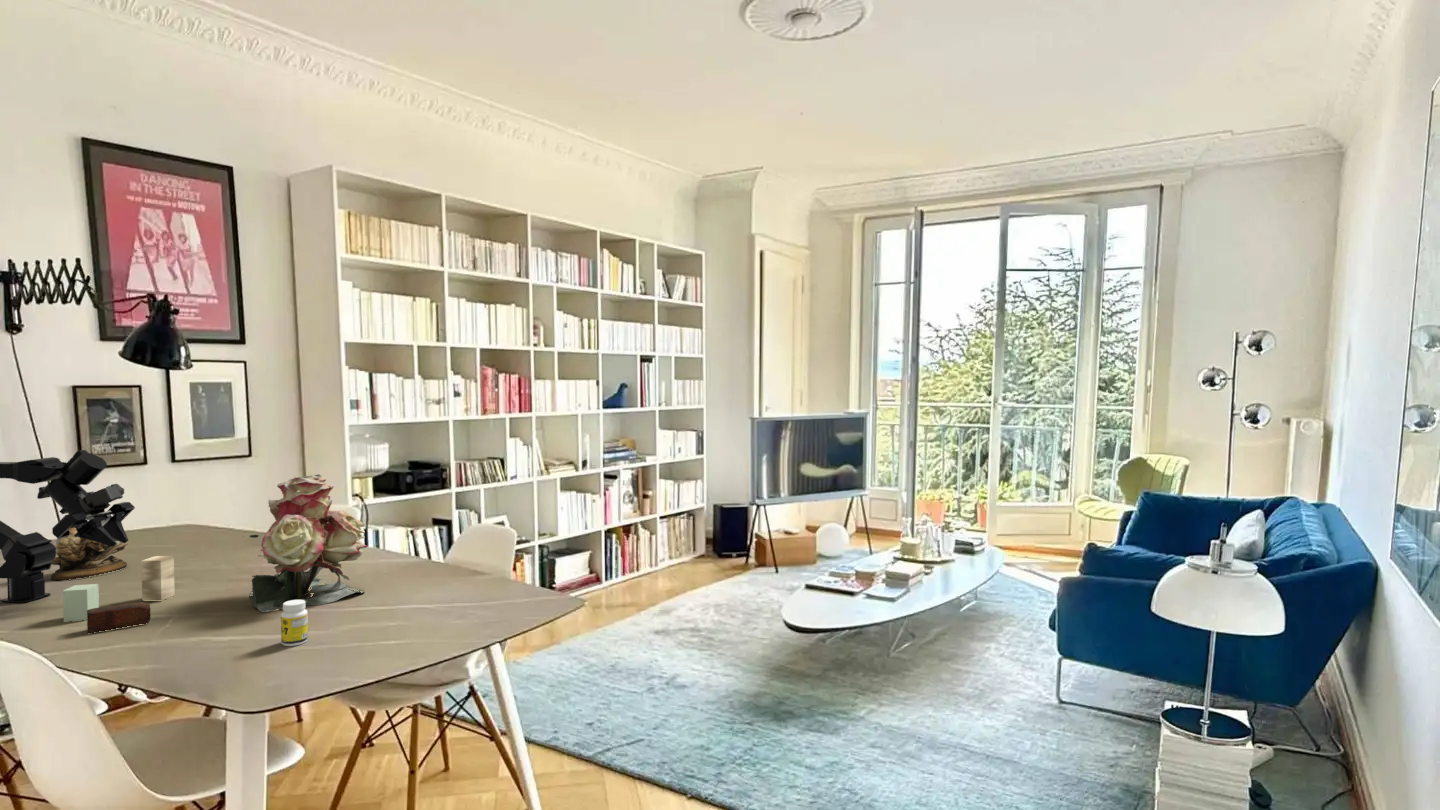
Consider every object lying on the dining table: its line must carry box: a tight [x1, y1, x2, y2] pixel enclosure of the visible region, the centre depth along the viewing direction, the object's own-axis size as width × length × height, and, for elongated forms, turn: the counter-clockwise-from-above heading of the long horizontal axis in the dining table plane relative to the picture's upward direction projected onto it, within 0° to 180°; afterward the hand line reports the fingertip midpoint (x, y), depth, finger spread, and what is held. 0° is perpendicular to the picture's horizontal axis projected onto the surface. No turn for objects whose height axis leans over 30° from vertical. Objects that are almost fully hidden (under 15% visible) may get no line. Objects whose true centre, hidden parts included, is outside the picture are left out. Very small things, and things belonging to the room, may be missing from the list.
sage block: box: [62, 583, 100, 623], centre depth 166 cm, size 4×4×7 cm
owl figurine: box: [50, 528, 128, 581], centre depth 204 cm, size 18×12×17 cm, turn 162°
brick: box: [86, 601, 152, 634], centre depth 160 cm, size 11×4×5 cm, turn 130°
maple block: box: [141, 555, 175, 600], centre depth 180 cm, size 4×4×10 cm
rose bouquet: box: [242, 473, 368, 613], centre depth 185 cm, size 26×29×30 cm
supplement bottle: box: [280, 599, 309, 647], centre depth 152 cm, size 5×5×8 cm
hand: (120, 543), depth 180 cm, fingers open, 3 cm apart
